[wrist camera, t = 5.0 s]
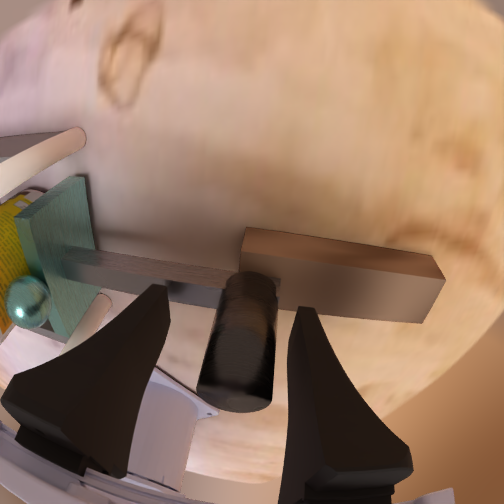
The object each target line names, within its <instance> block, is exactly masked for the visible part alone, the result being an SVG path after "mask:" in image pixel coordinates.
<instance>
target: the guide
mask: <svg viewBox="0 0 504 504" xmlns="http://www.w3.org/2000/svg"><path fill="white" fill-rule="evenodd" d="M245 271H251V272H257V273H260V274H263V275H265V276H268V277H275V278H281V287H280V299H279V304H278V309H281V310H289V311H297V309H298V306H305V307H313V308H315V310H316V312H317V314H322V315H331V316H340V317H350V318H360V319H370V320H381V321H393V322H406V323H420V324H422V323H423V321H424V319H425V318H426V316H427V314H428V313H429V311H430V309H431V307H432V306H433V304H434V302H435V300H436V298H437V297H438V295H439V293H440V291H441V289H442V287H443V285H444V284H445V282H446V279H445V277H444V275H443V274H442V272H441V270H440V269H439V267H438V265H437V264H436V262H435V260H434V259H433V257H432V256H428V255H423V254H417V253H411V252H405V251H399V250H394V249H388V248H382V247H375V246H369V245H363V244H357V243H351V242H344V241H338V240H331V239H325V238H318V237H312V236H305V235H299V234H292V233H285V232H278V231H271V230H264V229H257V228H250V227H246V231H245V235H244V240H243V244H242V248H241V254H240V264H239V272H245Z"/></svg>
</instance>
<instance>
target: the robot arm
mask: <svg viewBox="0 0 504 504" xmlns="http://www.w3.org/2000/svg"><path fill="white" fill-rule="evenodd" d="M170 323H171V319H170V310H169V300H168V289H167V286H165V285H159V284H154V283H153V284H151V285H150V286H149V287H148V288H147V289H146V290H145V291H144V292H143V293H142V294H141V295H140V296H138V297H137V298H136V299H135V300H134V301H133V302H132V303H131V304H130V305H129V306H128V307H127V308H125V309H124V310H123V311H122V312H121V313H120V314H119V315H118V316H116V317H115V318H114V319H113V320H112V321H110V322H109V323H108V324H107V325H105V326H104V327H103V328H102V329H100V330H99V331H98V332H96V333H95V334H94V335H92V336H91V337H90V338H88V339H87V340H85V341H84V342H82V343H81V344H79V345H78V346H76V347H74V348H73V349H71V350H69V351H67V352H66V353H64V354H62V355H60V356H58V357H56V358H54V359H52V360H50V361H48V362H46V363H44V364H42V365H39V366H37V367H34V368H32V369H29V370H26V371H24V372H21V373H18V374H15V375H14V376H13V378H12V379H11V381H10V383H9V385H8V386H7V388H6V390H5V392H4V394H3V395H2V397H1V399H0V401H1V404H2V406H3V407H4V408H5V409H6V411H8V413H9V414H11V416H12V417H13V418H14V419H15V420H16V421H17V422H18V423H19V424H20V425H21V426H20V428H19V430H18V432H16V431H14V430H12V429H11V428H9V427H7V426H6V425H4V424H3V423H2V421H1V420H0V484H1V485H2V486H4V487H5V488H6V489H8V490H9V491H10V492H12V493H13V494H14V495H16V496H17V497H19V498H20V499H22V500H23V501H25V502H26V503H27V504H214V503H208V502H203V501H197V500H192V499H188V498H185V496H186V495H185V494H182V493H180V491H181V486H182V482H183V477H184V473H185V468H186V464H187V459H188V455H189V450H190V446H191V442H192V437H193V433H194V429H195V424H196V420H198V419H203V418H207V417H212V416H216V415H219V409H217V408H215V407H213V406H211V405H209V404H208V403H206V402H205V401H203V400H202V399H201V398H200V397H198V396H197V395H195V394H194V393H192V392H191V391H189V390H188V389H186V388H185V387H183V386H182V385H180V384H179V383H177V382H176V381H174V380H173V379H171V378H170V377H168V376H167V375H166V374H164V373H163V372H161V371H160V370H159V369H157V368H156V367H155V365H156V363H157V360H158V358H159V356H160V353H161V351H162V348H163V346H164V344H165V340H166V337H167V334H168V330H169V326H170ZM287 381H288V429H287V440H286V449H285V458H284V466H283V473H282V481H281V487H280V494H279V500H278V504H392V503H391V495H393V494H394V492H395V491H394V485H395V484H397V483H399V482H400V481H402V480H404V479H405V478H407V477H409V476H410V475H411V474H412V472H413V471H414V470H413V463H412V457H411V453H410V449H409V447H408V446H407V445H406V444H405V443H404V442H403V441H402V440H401V439H399V438H398V437H397V436H396V435H395V434H394V433H393V432H392V431H391V430H390V429H389V428H388V427H387V426H386V425H385V424H384V423H383V422H382V421H381V420H380V419H379V417H378V416H377V415H376V414H375V413H374V412H373V410H372V409H371V408H370V407H369V406H368V404H367V403H366V402H365V401H364V399H363V398H362V397H361V395H360V394H359V392H358V391H357V390H356V388H355V387H354V385H353V384H352V382H351V381H350V379H349V378H348V376H347V374H346V373H345V371H344V369H343V367H342V366H341V364H340V362H339V360H338V358H337V357H336V355H335V353H334V351H333V349H332V347H331V345H330V343H329V341H328V338H327V336H326V334H325V332H324V329H323V327H322V325H321V322H320V320H319V317H318V314H317V312H316V310H315V308H313V307H305V306H298V309H297V313H296V316H295V320H294V323H293V327H292V330H291V334H290V337H289V342H288V355H287ZM395 504H455V500H454V492H453V488H448V489H444V490H440V491H436V492H432V493H429V494H425V495H423V496H420V497H418V498H416V499H415V500H411V501H406V502H400V503H395Z"/></svg>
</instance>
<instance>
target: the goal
mask: <svg viewBox="0 0 504 504" xmlns="http://www.w3.org/2000/svg"><path fill="white" fill-rule="evenodd" d="M85 142H86V136H85V133H84V131H83V130H82V129H81V128H78V127H75V128H72V129H70V130H67V131H65V132H50V133H37V134H26V135H17V136H8V137H0V198H1V197H3V196H4V195H6V194H7V193H9V192H10V191H11V190H13V189H14V188H16V187H17V186H19V185H20V184H22V183H23V182H25V181H27V180H28V179H30V178H31V177H33V176H34V175H36V174H38V173H39V172H41V171H43V170H44V169H46V168H48V167H49V166H51V165H53V164H54V163H56V162H58V161H60V160H61V159H63V158H65V157H67V156H69V155H70V154H72V153H74V152H76V151H78V150H80V149H81V148H83V147H84V145H85ZM111 305H112V302H111V300H110V299H109V298H108V297H107V296H106V295H104V294H98V295H96V297H95V298H94V300H93V301H92V303H91V304H90V306H89V308H88V309H87V311H86V312H85V314H84V315H83V317H82V318H81V320H80V322H79V323H78V325H77V326H76V328H75V329H74V331H73V333H72V334H71V336H70V338H67V337H64V336H61V335H58V334H56V333H55V332H54V330H53V328H52V325H51V323H50V321H49V319H47V321H46V322H45V323H44V324H43V325H42V326H40V327H38V328H35V329H28V330H30V331H33V332H35V333H38V334H40V335H43V336H46V337H48V338H51V339H54V340H57V341H59V342H62V343H65V344H66V345H65V347H64V348H63V350H62V352H61V353H60V355H62V354H64V353H66V352H67V351H69V350H71V349H73V348H74V347H76V346H78V345H79V344H81V343H82V342H84V341H85V340H87V339H88V338H90V337H91V336H92V335H94V334H95V332H96V331H97V329H98V327H99V325H100V324H101V322H102V320H103V319H104V317H105V315H106V313H107V312H108V310H109V308H110V307H111ZM60 355H59V356H60Z"/></svg>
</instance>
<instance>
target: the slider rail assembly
mask: <svg viewBox="0 0 504 504" xmlns="http://www.w3.org/2000/svg"><path fill="white" fill-rule="evenodd" d="M14 221H15V225H16V229H17V232H18V236H19V239H20V243H21V246H22V249H23V252H24V256H25V259H26V262H27V265H28V268H29V270H30V273H31V275H21V276H18V277H16V278H15V279H13V280H12V281H11V282H10V283H9V285H8V287H7V288H6V291H5V295H4V306H5V310H6V313H7V315H8V317H9V318H10V319H11V321H12V322H13V323H14V324H16V325H17V326H19V327H21V328H24V329H35V328H38V327H40V326H42V325H43V324H44V323H45V322H46V321H47V319H49V321H50V323H51V325H52V328H53V330H54V332H55V333H56V334H58V335H61V336H64V337H67V338H70V336H71V334H72V333H73V331H74V329H75V328H76V326H77V325H78V323H79V322H80V320H81V318H82V317H83V315H84V314H85V312H86V311H87V309H88V308H89V306H90V304H91V303H92V301H93V300H94V298H95V297H96V295H97V294H98V292H99V291H100V290H101V288H102V287H103V288H107V289H112V290H116V291H121V292H126V293H131V294H136V295H141V294H142V293H143V292H144V291H145V290H146V289H147V288H148V287H149V286H150V285H151V284H153V283H154V284H159V285H165V286H167V289H168V300H169V301H172V302H178V303H183V304H189V305H195V306H201V307H207V308H213V309H217V310H216V314H215V318H214V321H213V325H212V329H211V333H210V337H209V340H208V344H207V348H206V352H205V356H204V360H203V364H202V368H201V371H200V375H199V379H198V383H197V387H196V390H197V393H198V395H199V397H200V398H201V399H202V400H203V401H205V402H206V403H208V404H209V405H211V406H213V407H215V408H218V409H221V410H225V411H229V412H236V413H249V412H255V411H259V410H262V409H264V408H266V407H267V406H269V404H270V403H271V401H272V394H273V380H274V366H275V350H276V333H277V316H278V304H279V299H280V287H281V278H275V277H268V276H265V275H263V274H260V273H257V272H251V271H245V272H233V271H226V270H219V269H213V268H206V267H199V266H193V265H186V264H180V263H174V262H167V261H161V260H155V259H149V258H142V257H136V256H130V255H124V254H118V253H112V252H106V251H101V250H95V245H94V239H93V234H92V228H91V222H90V216H89V209H88V203H87V195H86V188H85V179H84V177H73V176H69V177H68V178H66V179H65V180H63V181H62V182H60V183H59V184H57V185H56V186H55V187H53V188H52V189H50V190H49V191H47V192H46V193H45V194H43V195H42V196H41V197H39V198H38V199H36V200H35V201H34V202H32V203H31V204H30V205H28V206H27V207H26V208H25V209H23V210H22V211H21V212H19V213H18V214H17V215H16V216H14Z"/></svg>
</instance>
